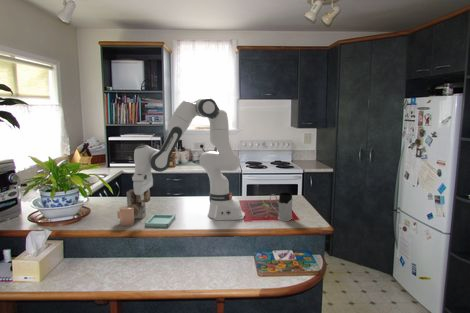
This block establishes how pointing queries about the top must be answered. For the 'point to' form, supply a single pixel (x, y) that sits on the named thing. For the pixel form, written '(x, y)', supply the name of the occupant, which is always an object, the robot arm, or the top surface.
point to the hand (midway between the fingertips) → (144, 197)
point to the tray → (160, 220)
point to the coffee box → (136, 204)
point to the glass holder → (284, 206)
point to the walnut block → (147, 197)
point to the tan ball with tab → (126, 215)
